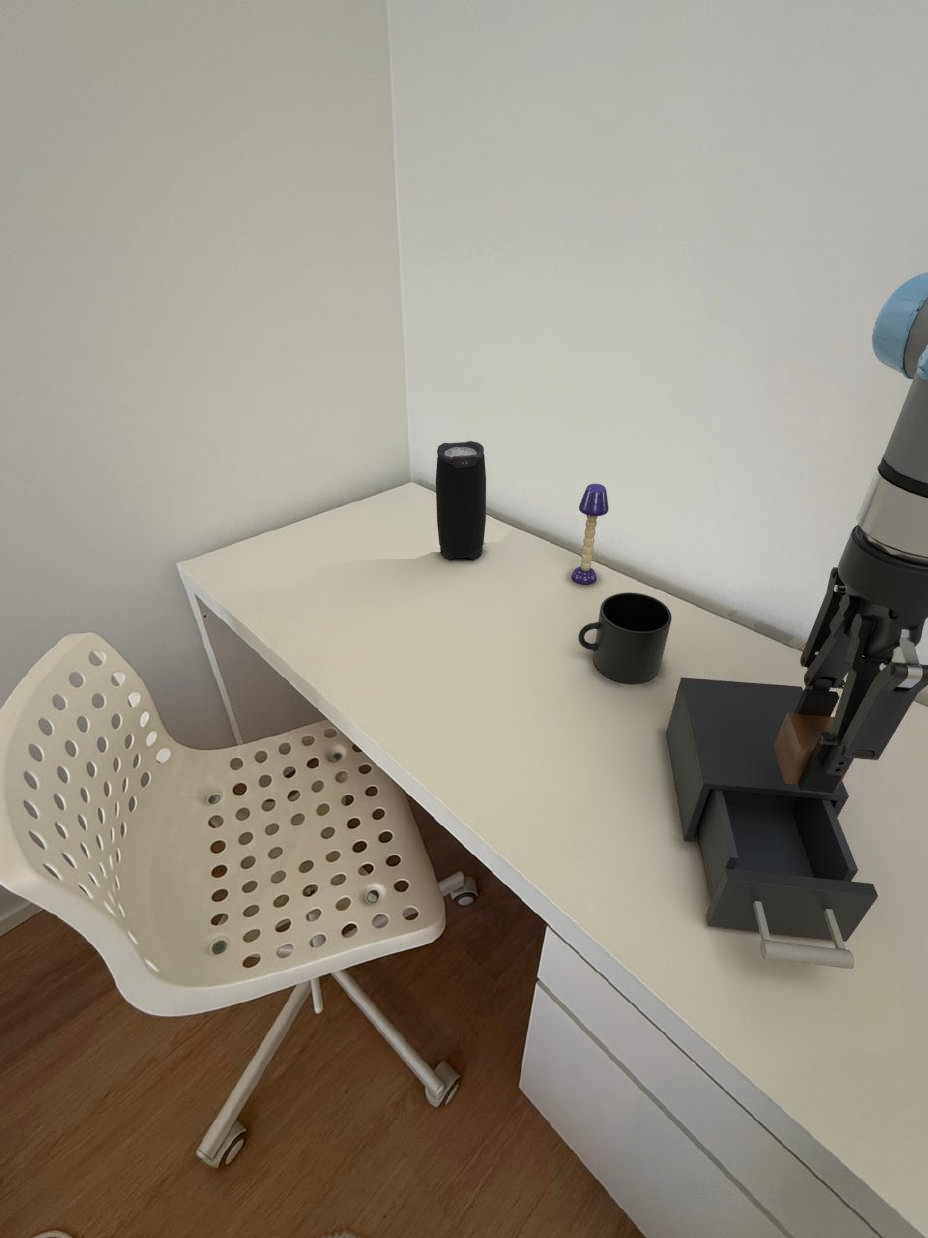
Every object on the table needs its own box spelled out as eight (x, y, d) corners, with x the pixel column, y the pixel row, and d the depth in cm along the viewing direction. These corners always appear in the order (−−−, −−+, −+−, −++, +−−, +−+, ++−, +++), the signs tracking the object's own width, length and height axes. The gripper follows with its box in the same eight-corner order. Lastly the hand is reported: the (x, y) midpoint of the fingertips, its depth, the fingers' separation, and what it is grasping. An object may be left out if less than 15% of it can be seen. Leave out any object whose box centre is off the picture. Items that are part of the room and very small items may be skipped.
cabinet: (817, 854, 68) (849, 796, 62) (684, 841, 69) (703, 783, 63) (778, 743, 80) (801, 686, 74) (665, 733, 82) (680, 676, 76)
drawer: (866, 999, 56) (902, 954, 51) (717, 980, 57) (740, 936, 52) (800, 811, 71) (824, 764, 66) (684, 800, 72) (699, 753, 68)
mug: (571, 641, 96) (577, 591, 91) (652, 642, 96) (663, 592, 91) (578, 684, 89) (585, 632, 83) (666, 685, 89) (679, 633, 83)
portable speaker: (480, 537, 122) (482, 436, 110) (488, 563, 114) (491, 458, 102) (435, 540, 121) (431, 438, 109) (440, 566, 113) (437, 461, 101)
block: (822, 751, 60) (838, 717, 57) (837, 789, 56) (856, 755, 54) (772, 746, 60) (787, 712, 58) (784, 783, 57) (800, 749, 54)
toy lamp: (568, 570, 112) (578, 480, 102) (595, 569, 112) (607, 480, 102) (573, 585, 108) (584, 494, 98) (601, 584, 109) (614, 493, 99)
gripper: (1050, 618, 37) (888, 856, 51) (919, 486, 51) (820, 701, 65) (909, 607, 38) (788, 845, 52) (818, 480, 51) (742, 694, 65)
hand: (806, 765), depth 58 cm, fingers closed on block, 4 cm apart
